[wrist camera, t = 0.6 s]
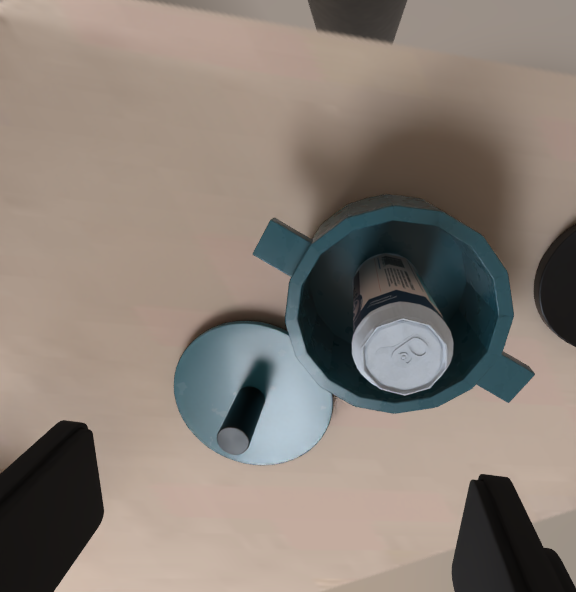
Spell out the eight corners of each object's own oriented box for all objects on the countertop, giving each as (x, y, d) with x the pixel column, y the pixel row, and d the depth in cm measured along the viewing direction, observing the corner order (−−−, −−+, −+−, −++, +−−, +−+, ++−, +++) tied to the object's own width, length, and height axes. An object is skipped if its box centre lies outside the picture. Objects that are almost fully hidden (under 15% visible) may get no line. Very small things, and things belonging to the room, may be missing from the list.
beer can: (339, 279, 31) (330, 349, 19) (391, 237, 29) (414, 288, 18) (380, 325, 31) (394, 420, 20) (433, 287, 30) (480, 366, 19)
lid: (218, 287, 33) (186, 318, 27) (364, 371, 33) (367, 421, 27) (156, 408, 38) (116, 458, 31) (285, 480, 38) (271, 544, 32)
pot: (324, 140, 28) (313, 135, 21) (546, 272, 29) (607, 309, 22) (243, 289, 33) (212, 325, 26) (437, 401, 33) (459, 467, 26)
